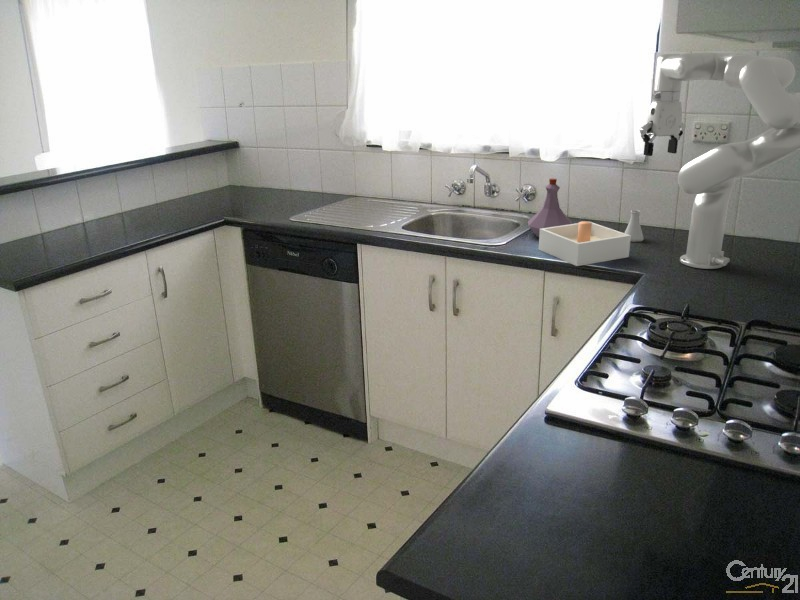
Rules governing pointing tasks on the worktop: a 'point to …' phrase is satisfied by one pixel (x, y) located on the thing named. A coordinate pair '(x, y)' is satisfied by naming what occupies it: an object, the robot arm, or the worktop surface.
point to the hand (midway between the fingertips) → (659, 154)
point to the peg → (584, 231)
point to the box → (584, 244)
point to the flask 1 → (549, 211)
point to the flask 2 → (634, 227)
